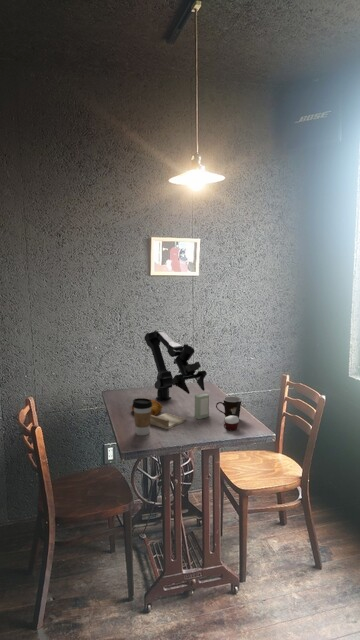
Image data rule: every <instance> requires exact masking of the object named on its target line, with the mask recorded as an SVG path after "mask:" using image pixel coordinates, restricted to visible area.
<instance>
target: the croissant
mask: <svg viewBox="0 0 360 640" xmlns="http://www.w3.org/2000/svg"><path fill="white" fill-rule="evenodd" d="M143 398H144V397H143ZM144 399H147V398H144ZM149 399H150V400H151V402H152V407H151V415H154V416H158V414H161V413H162V408H163V405H162V403H160V402H159V401H157V400H155V399H151V398H149ZM131 410H132V411H133V412H134V407H133V404H132V405H131Z"/></svg>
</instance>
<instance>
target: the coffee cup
mask: <svg viewBox="0 0 360 640" xmlns="http://www.w3.org/2000/svg"><path fill="white" fill-rule="evenodd" d="M150 399H151V398H146V399H144V397H143V398H140V397H138V398H134V399H133V401H132V405H133V407H134V411H133V416H134V418H133V419H134V424H135V434H136V435H138V436H147V435H150V432H151V429H150V428H151V424H150V420H151V407H152V402H151V400H152V399H151V400H150Z"/></svg>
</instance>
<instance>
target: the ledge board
mask: <svg viewBox="0 0 360 640" xmlns="http://www.w3.org/2000/svg"><path fill="white" fill-rule="evenodd" d="M185 422H187V418H185V417H183V416H178V415H174V414H171V413H167V412H165V413H163V414H160V415H155V416H154V415H151V420H150V425H153V426H154V427H155V426H156V427H159V428H162V429H165V430H169V429H171V428H173V427H175V426H178V425H180V424H182V423H185Z"/></svg>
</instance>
